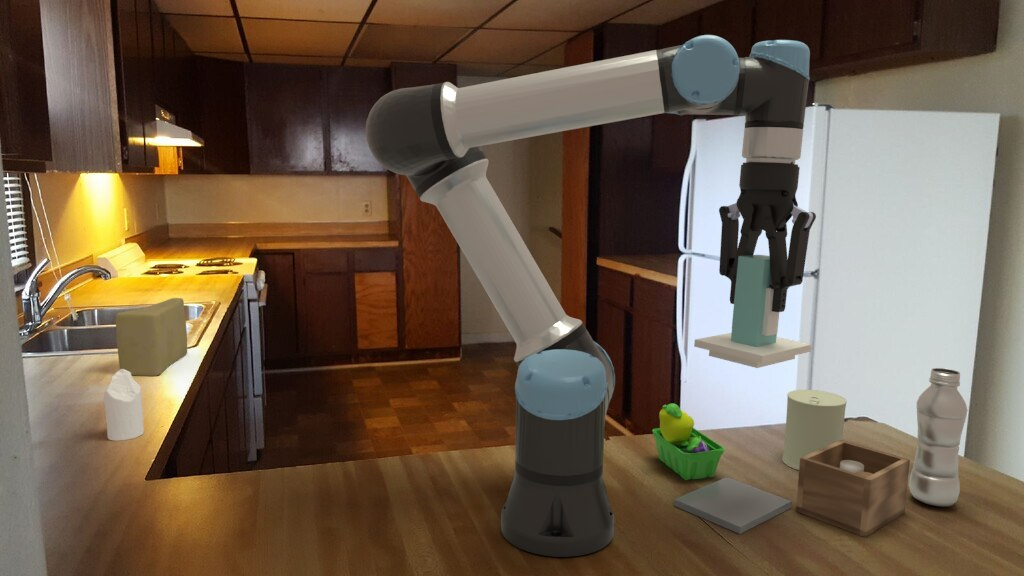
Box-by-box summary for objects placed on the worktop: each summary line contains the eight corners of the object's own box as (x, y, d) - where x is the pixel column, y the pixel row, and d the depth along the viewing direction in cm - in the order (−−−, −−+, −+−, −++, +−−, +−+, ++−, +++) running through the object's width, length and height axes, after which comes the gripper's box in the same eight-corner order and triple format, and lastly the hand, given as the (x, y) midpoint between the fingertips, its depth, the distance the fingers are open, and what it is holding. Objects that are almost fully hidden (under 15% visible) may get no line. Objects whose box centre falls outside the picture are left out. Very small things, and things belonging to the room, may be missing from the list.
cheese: (166, 353, 194) (163, 296, 192) (203, 354, 193) (200, 297, 191) (117, 376, 172) (113, 311, 170) (158, 377, 172) (154, 312, 169)
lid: (761, 372, 97) (771, 263, 95) (693, 354, 105) (701, 254, 103) (810, 359, 105) (821, 259, 103) (744, 344, 113) (752, 251, 111)
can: (778, 467, 124) (783, 397, 122) (786, 449, 132) (791, 383, 130) (838, 478, 119) (845, 406, 118) (843, 459, 128) (849, 391, 126)
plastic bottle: (933, 514, 107) (947, 378, 104) (896, 495, 114) (909, 366, 111) (968, 509, 109) (984, 376, 106) (931, 490, 115) (944, 364, 112)
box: (865, 537, 100) (870, 480, 99) (795, 511, 107) (800, 457, 106) (904, 512, 108) (909, 459, 106) (837, 489, 115) (841, 439, 114)
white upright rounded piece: (109, 376, 128) (96, 370, 132) (114, 443, 130) (101, 435, 133) (145, 369, 132) (132, 364, 136) (149, 434, 134) (136, 427, 138)
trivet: (739, 534, 100) (740, 527, 100) (673, 505, 109) (674, 499, 108) (791, 507, 109) (791, 501, 108) (726, 483, 117) (726, 477, 117)
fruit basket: (725, 479, 118) (729, 410, 117) (675, 485, 116) (678, 415, 114) (689, 453, 129) (692, 390, 128) (642, 458, 127) (645, 394, 125)
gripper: (845, 164, 97) (826, 340, 101) (731, 161, 110) (717, 317, 114) (816, 161, 92) (797, 346, 96) (700, 159, 105) (687, 322, 109)
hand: (754, 330), depth 105 cm, fingers closed on lid, 4 cm apart
